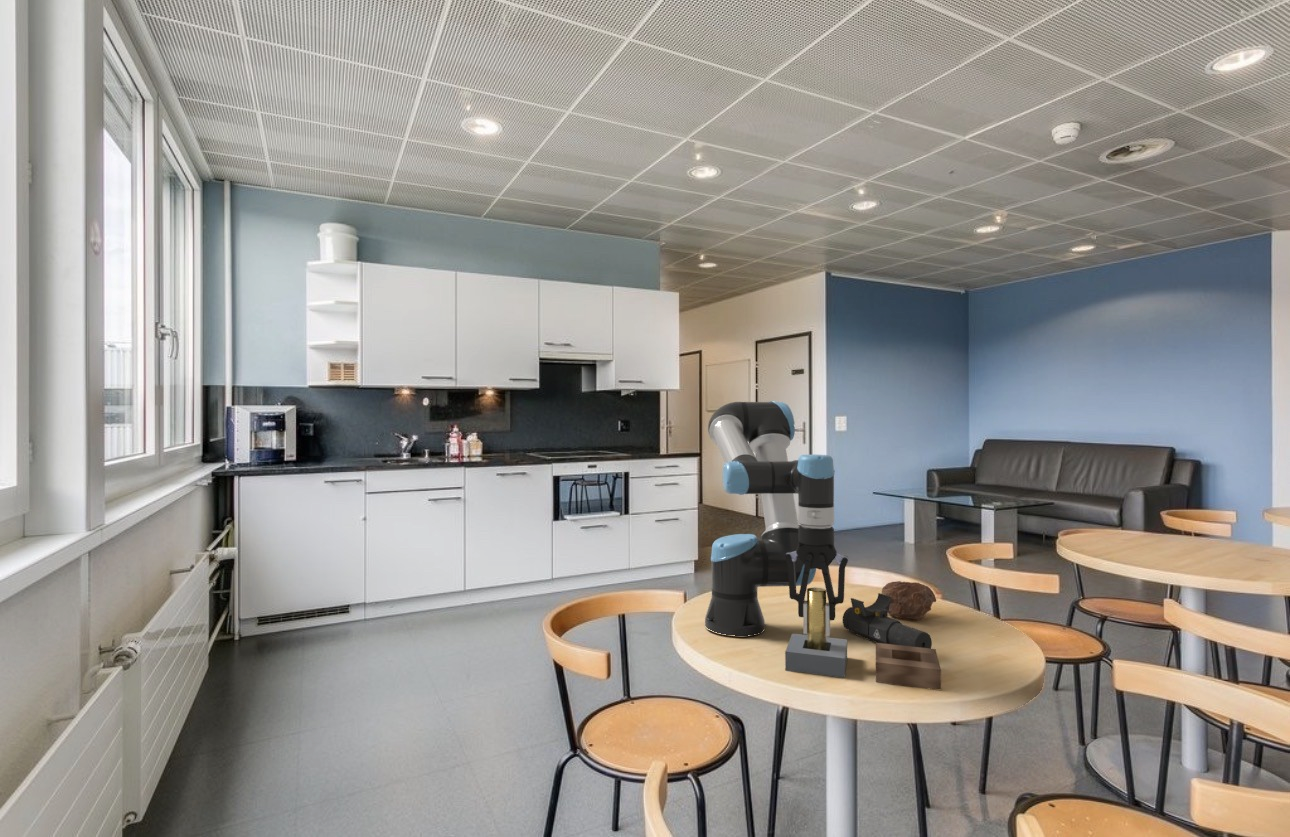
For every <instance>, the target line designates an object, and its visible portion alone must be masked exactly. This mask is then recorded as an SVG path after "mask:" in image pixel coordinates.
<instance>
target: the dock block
mask: <svg viewBox="0 0 1290 837" xmlns="http://www.w3.org/2000/svg"><path fill="white" fill-rule="evenodd" d="M875 682H876V683H880V684H881V683H882V684H888V685H889V684H890V685H896V686H904V687H910V688H911V687H912V688H922V689H927V688H930V689H929V690H935V689H941V690H942V668H941V664H940V661H939V657H938V653H937V650H936V649H935V648H931V649H930V648H920V647H911V646H902V645H893V644H883V643H876V642H875Z"/></svg>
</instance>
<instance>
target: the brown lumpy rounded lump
mask: <svg viewBox="0 0 1290 837" xmlns="http://www.w3.org/2000/svg"><path fill="white" fill-rule="evenodd" d="M881 594H884V595H887V596H890V597H891V602H890V607H889V612H888V616H889V617H891V616H892V617H895V618H901V619H902V620H903V619H904V620H905V619H906V620H907V619H912V620H914V621H919V620H921V619H923V618H924V617H925V616H926V615H927V613H928V612H930V611H931V610H932V605H933V603H936V602H937V598H936V595H935V592H933V590H932V589H931V587H929V586H927V585H925V584H922V583H920V582H917V581H916V582H913V581H912V582H909V581H901V580H896V581H891V582H888V583H886V584H885V586H882V588H881Z"/></svg>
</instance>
